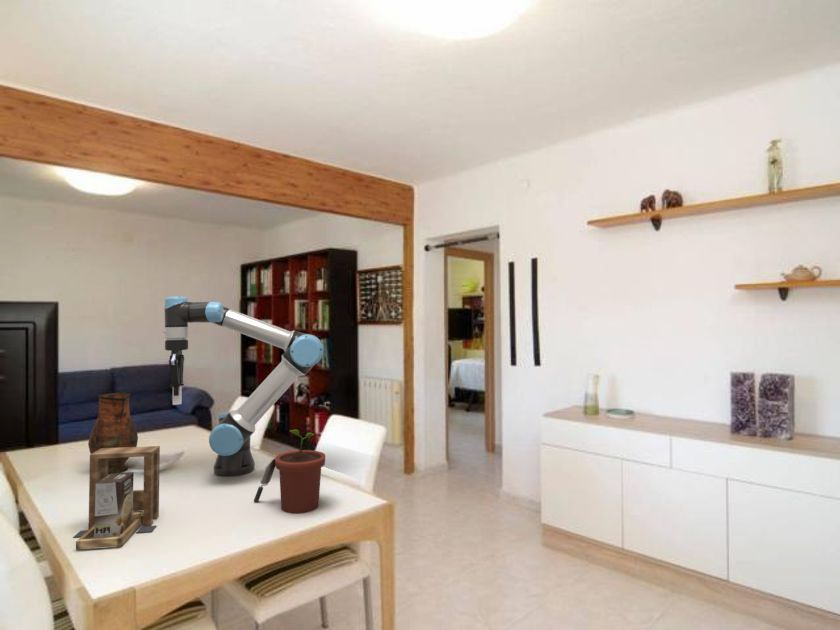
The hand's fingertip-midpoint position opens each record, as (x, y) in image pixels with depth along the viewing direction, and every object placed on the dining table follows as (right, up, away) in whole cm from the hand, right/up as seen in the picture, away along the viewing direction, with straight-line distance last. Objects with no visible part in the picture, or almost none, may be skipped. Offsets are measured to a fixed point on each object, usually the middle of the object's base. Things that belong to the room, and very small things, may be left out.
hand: (177, 404), depth 176 cm
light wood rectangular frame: (+3, -28, -38) cm, 47 cm away
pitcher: (-34, -29, +17) cm, 48 cm away
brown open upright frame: (+2, -28, -35) cm, 45 cm away
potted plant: (+47, -29, -19) cm, 59 cm away
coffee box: (+4, -28, -43) cm, 52 cm away
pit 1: (-4, -28, -42) cm, 51 cm away
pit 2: (+11, -28, -39) cm, 50 cm away
